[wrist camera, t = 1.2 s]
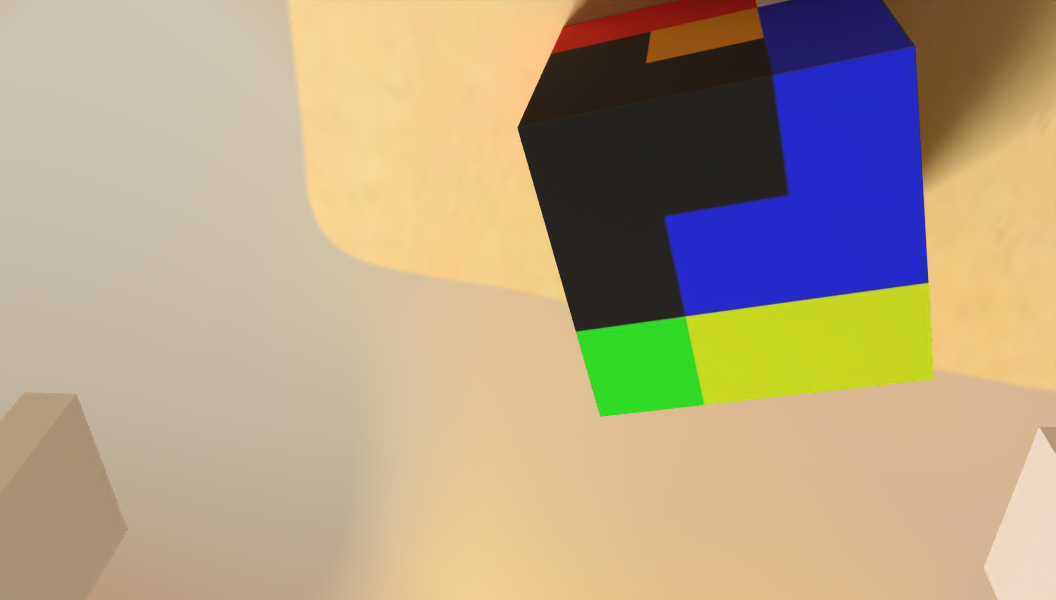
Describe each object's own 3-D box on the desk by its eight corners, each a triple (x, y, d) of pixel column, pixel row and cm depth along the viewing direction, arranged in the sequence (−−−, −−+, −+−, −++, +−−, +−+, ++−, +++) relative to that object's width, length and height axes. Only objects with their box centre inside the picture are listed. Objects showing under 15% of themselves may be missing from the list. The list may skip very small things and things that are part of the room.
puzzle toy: (853, -41, 30) (915, 45, 21) (876, 223, 35) (933, 379, 26) (563, 26, 32) (517, 127, 24) (621, 263, 37) (600, 416, 29)
